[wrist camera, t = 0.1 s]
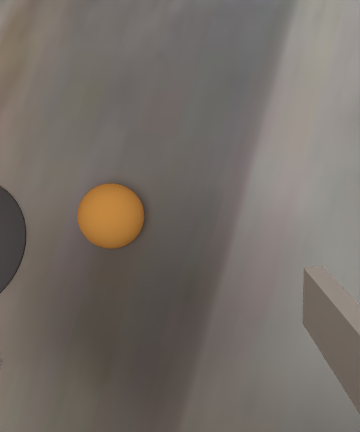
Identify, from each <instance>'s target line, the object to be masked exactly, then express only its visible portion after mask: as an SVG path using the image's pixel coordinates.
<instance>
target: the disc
mask: <svg viewBox="0 0 360 432" xmlns="http://www.w3.org/2000/svg"><path fill="white" fill-rule="evenodd" d="M25 244H26V227H25V222H24V217H23V215H22V212H21V209H20V208H19V206H18V204H17V202H16V201H15V200H14V198H13V197H12V196H11V195H10V194H9V193H8V192H7V191H6V190H4V189H3V188H2V187H0V293H1V292H2V291H3V290H4V289H5V287H6V286H7V285H8V284H9V282H10V281H11V280H12V278H13V276H14V275H15V273H16V272H17V269H18V267H19V265H20V263H21V260H22V257H23V254H24V249H25Z"/></svg>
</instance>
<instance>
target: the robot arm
mask: <svg viewBox="0 0 360 432" xmlns="http://www.w3.org/2000/svg"><path fill="white" fill-rule="evenodd" d="M303 324H304V326H305V328H306V329H307V331H308V332H309V334H310V336H311V337H312V339H313V340H314V342H315V344H316V345H317V347H318V348H319V350H320V351H321V353H322V355H323V356H324V358H325V359H326V361H327V363H328V364H329V366H330V367H331V369H332V371H333V372H334V374H335V375H336V377H337V379H338V380H339V382H340V383H341V385H342V386H343V388H344V390H345V391H346V393H347V394H348V396H349V398H350V399H351V401H352V402H353V404H354V406H355V407H356V409H357V410H358V412H359V413H360V305H359V304H358V303H357V302H356V301H355V300H354V299H353V297H352V296H351V295H350V294H349V293H348V292H347V291H346V290H345V289H344V288H343V287H342V286H341V285H340V284H339V283H338V282H337V281H336V280H335V279H334V278H333V277H332V275H331V274H330V273H329V272H328V271H327V270H326V269H325V268H324V267H323V266H317V267H310V268H304V286H303ZM2 365H3V360H2V358H1V355H0V368H1V366H2Z"/></svg>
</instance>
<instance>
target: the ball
mask: <svg viewBox="0 0 360 432" xmlns="http://www.w3.org/2000/svg"><path fill="white" fill-rule="evenodd" d="M143 223H144V209H143V206H142V203H141V201H140V199H139V198H138V196H137V195H136V194H135V193H134V192H133V191H132V190H130V189H129V188H127V187H125V186H123V185H120V184H113V183H108V184H102V185H99V186H97V187H95V188H93V189H91V190H90V191H89V192H88V193H87V194H86V195H85V196H84V197H83V199H82V201H81V203H80V205H79V208H78V224H79V227H80V229H81V231H82V233H83V235H84V236H85V237H86V238H87V239H88V240H89V241H90V242H91V243H93V244H95V245H97V246H99V247H102V248H108V249H113V248H120V247H123V246H125V245H127V244H129V243H130V242H132V241H133V240H134V239H135V238H136V237H137V236H138V234H139V233H140V231H141V229H142V226H143Z"/></svg>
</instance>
